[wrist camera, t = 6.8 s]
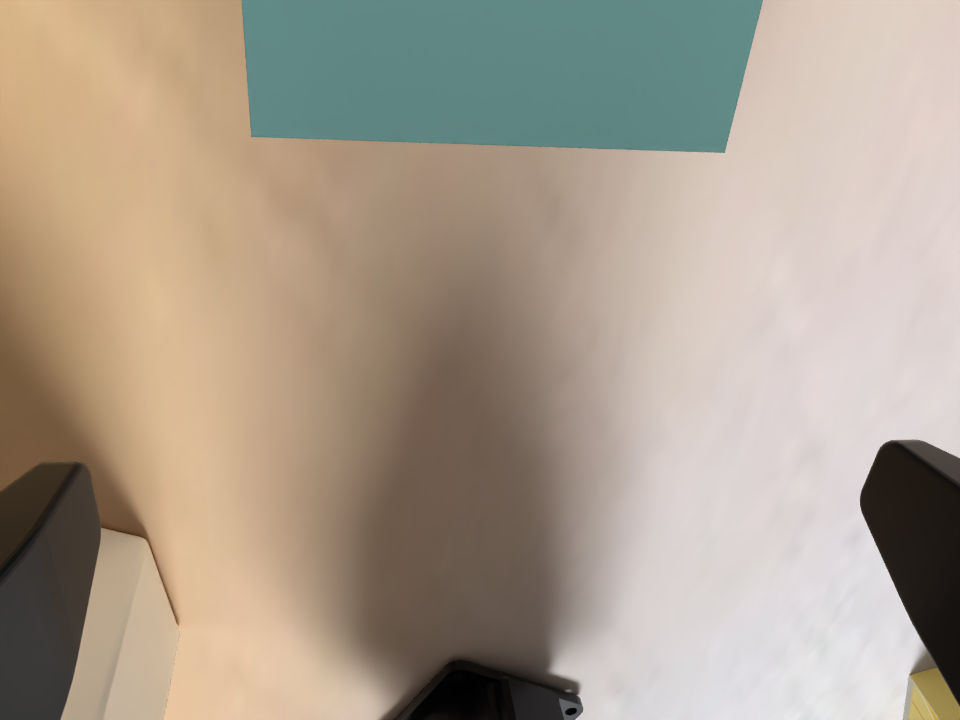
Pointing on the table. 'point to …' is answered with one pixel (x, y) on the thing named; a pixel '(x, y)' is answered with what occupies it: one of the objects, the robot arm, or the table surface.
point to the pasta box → (929, 698)
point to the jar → (124, 637)
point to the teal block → (499, 71)
